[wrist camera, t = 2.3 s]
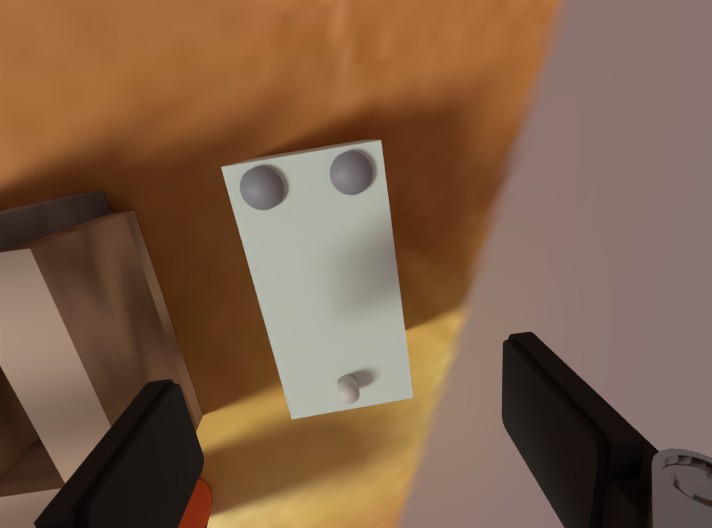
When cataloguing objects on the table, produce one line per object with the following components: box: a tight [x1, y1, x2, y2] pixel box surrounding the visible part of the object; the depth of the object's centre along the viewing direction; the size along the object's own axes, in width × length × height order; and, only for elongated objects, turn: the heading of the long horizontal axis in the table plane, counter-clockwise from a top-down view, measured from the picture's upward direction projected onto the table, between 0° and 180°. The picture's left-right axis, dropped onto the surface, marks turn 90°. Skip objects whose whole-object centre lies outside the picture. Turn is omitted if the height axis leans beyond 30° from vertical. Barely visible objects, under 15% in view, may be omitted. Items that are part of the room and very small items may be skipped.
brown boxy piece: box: [0, 191, 203, 528], centre depth 16 cm, size 15×10×10 cm, turn 7°
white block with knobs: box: [221, 139, 413, 419], centre depth 18 cm, size 12×6×7 cm, turn 9°
